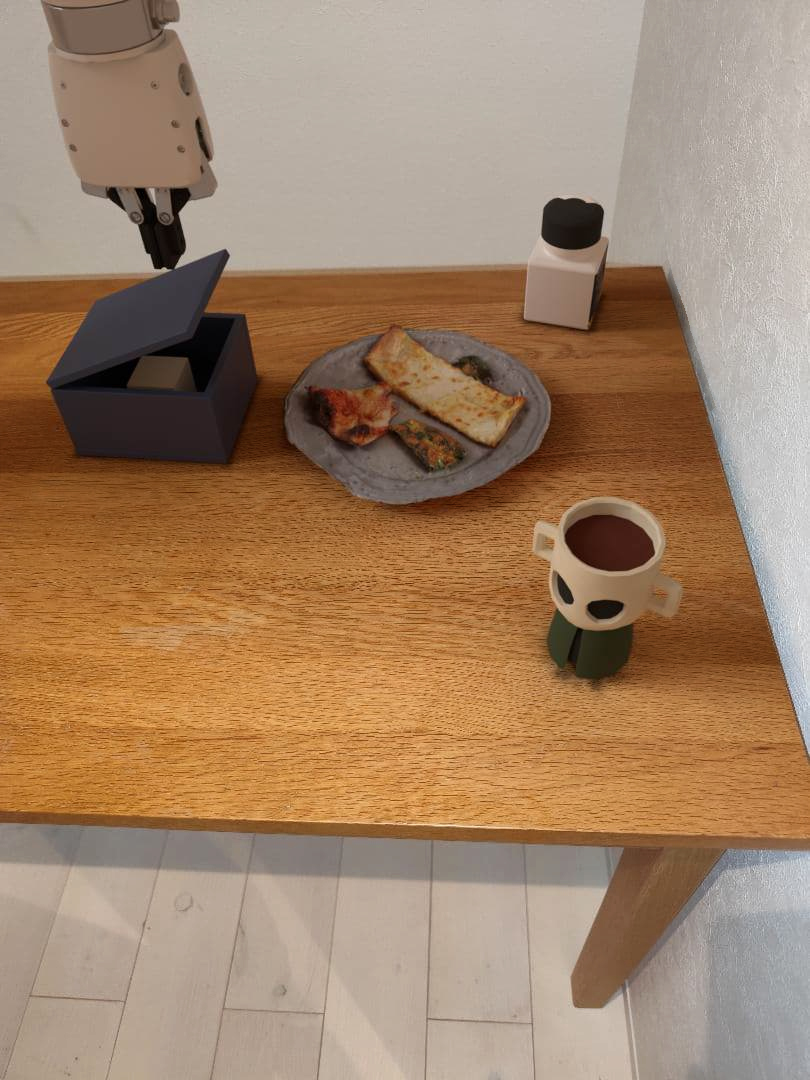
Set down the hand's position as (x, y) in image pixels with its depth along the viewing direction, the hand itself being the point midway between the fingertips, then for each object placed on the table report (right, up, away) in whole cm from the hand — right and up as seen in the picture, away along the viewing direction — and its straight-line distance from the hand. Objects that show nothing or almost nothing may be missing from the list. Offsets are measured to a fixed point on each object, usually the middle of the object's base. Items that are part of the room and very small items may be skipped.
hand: (169, 260), depth 74 cm
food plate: (+21, -12, +11) cm, 27 cm away
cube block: (-3, -11, +13) cm, 17 cm away
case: (-3, -11, +13) cm, 18 cm away
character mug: (+34, -32, -7) cm, 47 cm away
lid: (-4, -4, +5) cm, 7 cm away
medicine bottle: (+37, +2, +23) cm, 44 cm away
